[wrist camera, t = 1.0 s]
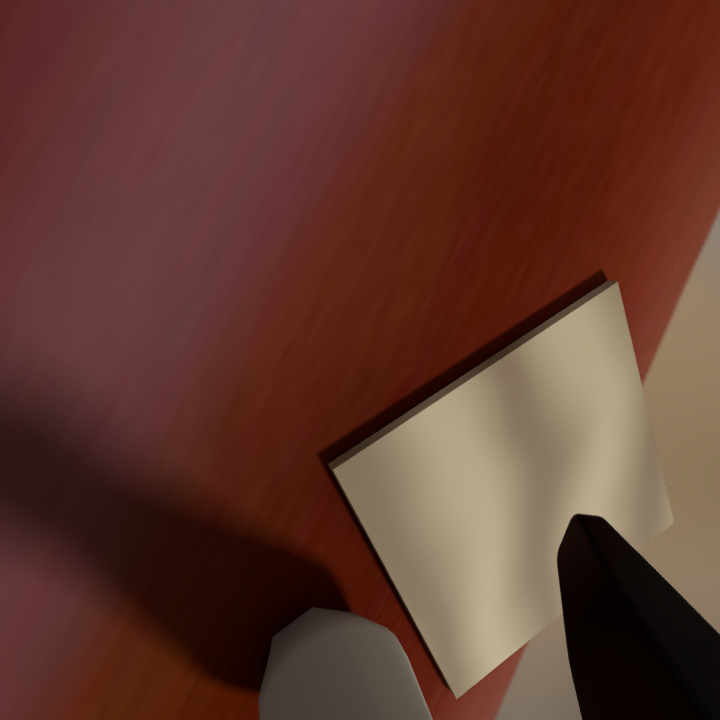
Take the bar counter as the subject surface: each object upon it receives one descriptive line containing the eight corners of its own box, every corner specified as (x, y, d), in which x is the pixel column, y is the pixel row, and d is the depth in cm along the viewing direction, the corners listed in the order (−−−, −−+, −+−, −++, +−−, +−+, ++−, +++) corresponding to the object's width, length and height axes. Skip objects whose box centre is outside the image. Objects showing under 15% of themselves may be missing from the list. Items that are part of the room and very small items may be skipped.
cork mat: (450, 691, 28) (456, 698, 28) (327, 464, 22) (332, 470, 22) (665, 517, 32) (673, 522, 31) (608, 279, 26) (617, 281, 25)
